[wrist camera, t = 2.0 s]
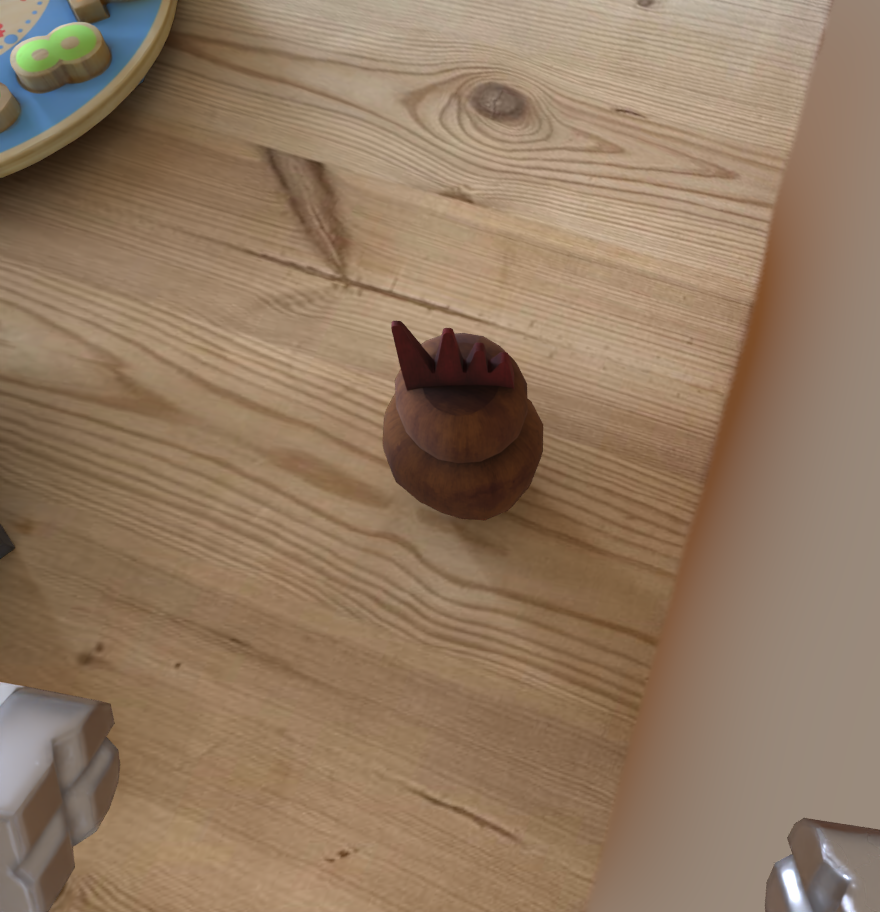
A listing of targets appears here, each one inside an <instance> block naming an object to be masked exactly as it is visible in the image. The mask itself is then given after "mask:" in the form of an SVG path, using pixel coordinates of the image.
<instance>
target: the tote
mask: <svg viewBox="0 0 880 912" xmlns="http://www.w3.org/2000/svg"><path fill="white" fill-rule="evenodd" d="M14 548H15V546H14V545H13V543H12V542H11V540H10V538H9V537H8V535H7V534H6V532H5V530H4V529H3V527H2V526H1V524H0V559H1V558H2V557H3V556H5V555H6V554H8V553H9V552H10V551H12V550H13V549H14Z"/></svg>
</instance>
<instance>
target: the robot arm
mask: <svg viewBox="0 0 880 912" xmlns="http://www.w3.org/2000/svg"><path fill="white" fill-rule="evenodd" d="M114 724H115V723H114V718H113V713H112V708H111V704H109V703H106V702H102V701H97V700H92V699H87V698H82V697H77V696H72V695H67V694H62V693H56V692H51V691H46V690H41V689H36V688H31V687H26V686H20V685H14V684H9V683H3V682H0V912H48V911H49V910H50V908H51V906H52V905H53V903H54V901H55V900H56V898H57V896H58V895H59V893H60V891H61V890H62V888H63V886H64V885H65V883H66V881H67V880H68V878H69V876H70V875H71V873H72V871H73V870H74V868H75V863H74V853H73V846H75V845H76V844H78V843H79V842H81V841H83V840H84V839H86V838H87V837H89V836H90V835H92V834H93V833H95V832H96V831H97V829H98V828H99V826H100V824H101V822H102V821H103V819H104V817H105V815H106V814H107V812H108V810H109V808H110V805H111V802H112V799H113V797H114V794H115V791H116V788H117V785H118V780H119V771H120V759H119V751H118V749H117V748H116V747H115V746H114V745H113V744H112V742H111V741H110V740H109V739H108V738H107V737H106V736H107V735H108V733H109V731H110V730H111V728H112V727H113V725H114ZM787 838H788V842H789V845H790V848H791V851H792V854H791V855H789V856H787V857H786V858H784V859H782V860H780V861H778V862H776V863H775V864H774V866H773V869H772V871H771V873H770V876H769V878H768V880H767V885H766V899H765V912H880V830H878V829H871V828H865V827H859V826H853V825H846V824H839V823H833V822H827V821H820V820H813V819H807V818H803V819H801V820H800V821H798V822H796V823H795V824H794V826H793V828H792V830H791V832H790V834H789V836H788V837H787Z"/></svg>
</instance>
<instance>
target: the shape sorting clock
mask: <svg viewBox="0 0 880 912" xmlns="http://www.w3.org/2000/svg"><path fill="white" fill-rule="evenodd" d="M177 1H178V0H0V178H2V177H5V176H7V175H10V174H12V173H14V172H17V171H19V170H22V169H24V168H26V167H28V166H30V165H32V164H34V163H36V162H38V161H40V160H42V159H44V158H46V157H47V156H49V155H51V154H53V153H54V152H56V151H58V150H59V149H61V148H63V147H64V146H66V145H68V144H69V143H71V142H73V141H74V140H76V139H77V138H78V137H80V136H81V135H83V134H84V133H86V132H87V131H88V130H90V129H91V128H92V127H94V126H95V125H96V124H97V123H99V122H100V121H101V120H102V119H103V118H105V117H106V116H107V115H108V114H110V113H111V112H112V111H113V110H114V109H115V108H116V107H117V106H118V105H119V104H120V103H121V102H122V101H123V100H124V99H125V98H126V97H127V96H128V95H129V94H130V93H131V92H132V91H133V90H134V89H135V87H136V86H137V85H138V84H140V83H142V82H143V81H144V77H145V75H146V74H147V72H148V71H149V69H150V68H151V66H152V65H153V63H154V62H155V60H156V58H157V57H158V55H159V53H160V52H161V50H162V48H163V46H164V44H165V42H166V39H167V37H168V35H169V32H170V29H171V26H172V23H173V20H174V16H175V12H176V7H177Z"/></svg>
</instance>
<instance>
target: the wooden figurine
mask: <svg viewBox="0 0 880 912" xmlns="http://www.w3.org/2000/svg"><path fill="white" fill-rule="evenodd" d="M391 328H392V333H393V337H394V341H395V346H396V350H397V354H398V359H399V363H400V367H401V369H400V371H399V373H398V375H397V377H396V379H395V394H394V396H393V398H392V400H391V402H390V403H389V405H388V407H387V409H386V412H385V415H384V425H383V448H384V452H385V455H386V457H387V460H388V463H389V465H390V468H391V471H392V473H393V476H394V478H395V480H396V482H397V483H398V484H399V485H400V486H402V487H403V488H404V489H405V490H406V491H408V492H409V493H410V494H411V495H412V496H414V497H415V498H416V499H417V500H418V501H420V502H421V503H424V504H426V505H428V506H430V507H432V508H434V509H436V510H438V511H440V512H442V513H445V514H448V515H451V516H455V517H458V518H461V519H474V520H486V519H489V518H491V517H494V516H496V515H499V514H501V513H503V512H506V511H508V510H509V509H510V508H511V507H512V506H513V505H514V504H515V502H516V501H517V500H518V499H519V498H520V497H521V496H522V494H523V493H524V492H525V491H526V490H527V489H528V487H529V485H530V484H531V482H532V479H533V477H534V474H535V471H536V469H537V466H538V464H539V461H540V459H541V455H542V452H543V423H542V421H541V419H540V418H539V416H538V414H537V412H536V410H535V408H534V406H533V404H532V402H531V401H530V400H529V399H527V383H526V381H525V379H524V377H523V375H522V373H521V371H520V369H519V367H518V365H517V364H516V362H515V361H514V360H513V359H512V358H511V357H510V356H509V355H508V353H506V352H505V351H504V350H503V349H502V348H501V347H500V346H499V345H497V344H495V343H494V342H492V341H490V340H489V339H487V338H485V337H483V336H478V335H472V334H466V333H458V334H454V332H453V329H451V328H444V329H443V332H442V335H441V336H438V337H435V338H433V339H430V340H427V341H425V342H424V343H422V344H420V343H419V342H418V341H417V339H416V338H415V337H414V336H413V335H412V333H411V332H410V331H409V330H408V329H407V327H406V326H405V325H404V324H403V323H402V322H401V321H393V322H392V327H391Z"/></svg>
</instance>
